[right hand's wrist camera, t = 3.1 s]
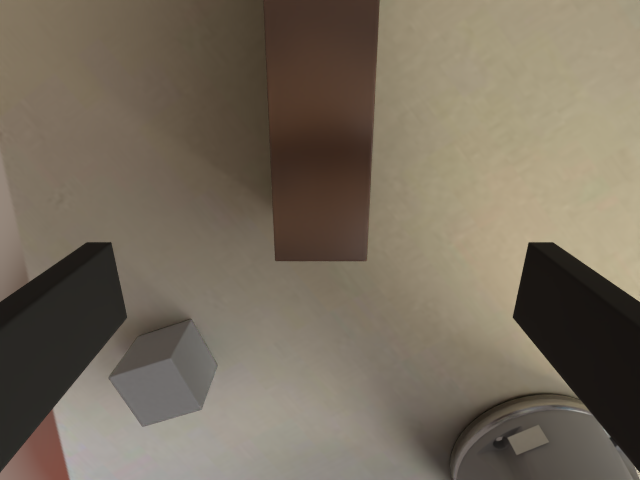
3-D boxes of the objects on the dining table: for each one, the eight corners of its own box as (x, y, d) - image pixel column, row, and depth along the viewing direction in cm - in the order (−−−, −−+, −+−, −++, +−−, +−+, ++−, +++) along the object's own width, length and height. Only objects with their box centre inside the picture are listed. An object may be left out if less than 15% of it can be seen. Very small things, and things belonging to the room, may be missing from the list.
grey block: (191, 318, 32) (169, 358, 27) (218, 365, 34) (201, 410, 29) (137, 336, 33) (107, 377, 28) (166, 381, 34) (142, 427, 30)
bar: (272, -234, 20) (244, -421, 13) (370, -234, 20) (400, -422, 13) (286, 215, 29) (274, 261, 21) (354, 215, 29) (366, 261, 21)
